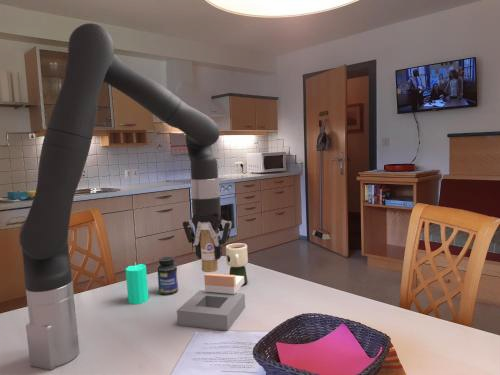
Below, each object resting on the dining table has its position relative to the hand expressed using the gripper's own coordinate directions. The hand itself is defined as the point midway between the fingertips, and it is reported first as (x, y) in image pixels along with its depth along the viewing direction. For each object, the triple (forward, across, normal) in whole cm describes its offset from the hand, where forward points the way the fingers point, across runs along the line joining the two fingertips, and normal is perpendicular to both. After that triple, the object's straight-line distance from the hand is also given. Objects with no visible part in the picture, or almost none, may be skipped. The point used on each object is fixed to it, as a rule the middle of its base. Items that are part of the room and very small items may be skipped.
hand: (209, 258), depth 102 cm
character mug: (+16, +1, -24) cm, 29 cm away
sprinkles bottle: (+3, 0, 0) cm, 3 cm away
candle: (+16, +27, -5) cm, 32 cm away
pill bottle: (+16, +21, -13) cm, 30 cm away
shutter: (+12, 0, -10) cm, 16 cm away
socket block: (+16, 0, 0) cm, 16 cm away
